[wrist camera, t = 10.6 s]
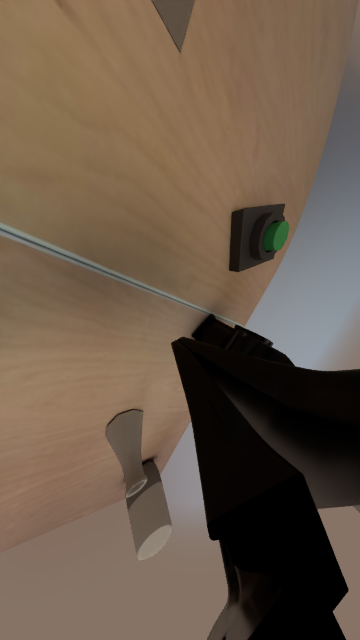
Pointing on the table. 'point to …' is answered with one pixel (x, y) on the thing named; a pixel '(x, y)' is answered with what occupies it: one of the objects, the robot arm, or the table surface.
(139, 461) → the flask
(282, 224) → the button
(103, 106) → the table surface
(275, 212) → the control block
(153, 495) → the smart speaker
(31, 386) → the table surface
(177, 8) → the platform
